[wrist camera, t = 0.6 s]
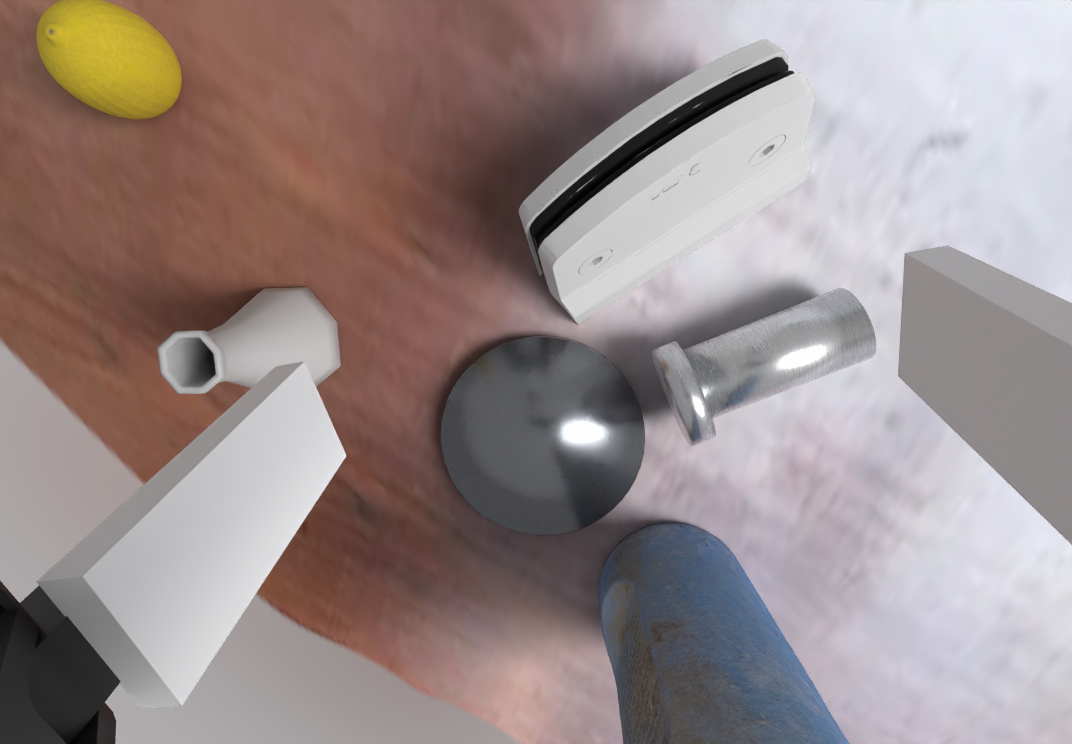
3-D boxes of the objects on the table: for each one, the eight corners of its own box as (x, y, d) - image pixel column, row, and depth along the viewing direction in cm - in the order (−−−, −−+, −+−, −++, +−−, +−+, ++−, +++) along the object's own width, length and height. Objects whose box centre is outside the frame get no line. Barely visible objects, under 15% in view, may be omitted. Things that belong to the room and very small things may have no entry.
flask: (217, 307, 37) (91, 317, 27) (316, 268, 37) (223, 264, 27) (262, 409, 38) (156, 455, 28) (360, 373, 37) (286, 407, 28)
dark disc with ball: (412, 381, 37) (382, 400, 31) (800, 220, 34) (848, 208, 28) (491, 554, 39) (477, 604, 33) (868, 416, 36) (927, 443, 30)
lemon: (138, 142, 36) (16, 103, 28) (112, 48, 35) (-20, -19, 27) (220, 124, 35) (120, 79, 27) (196, 28, 35) (86, -45, 27)
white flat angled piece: (572, 328, 36) (535, 284, 27) (536, 268, 37) (487, 205, 28) (812, 177, 34) (865, 69, 24) (765, 118, 35) (799, -8, 25)
